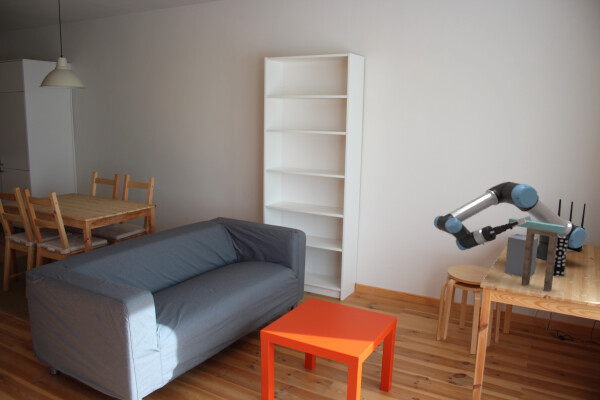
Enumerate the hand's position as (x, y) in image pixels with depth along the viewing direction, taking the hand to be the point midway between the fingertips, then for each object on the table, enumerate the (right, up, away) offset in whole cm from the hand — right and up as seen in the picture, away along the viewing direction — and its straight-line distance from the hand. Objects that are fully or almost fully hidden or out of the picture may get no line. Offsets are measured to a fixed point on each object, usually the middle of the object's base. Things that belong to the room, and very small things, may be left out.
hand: (528, 219), depth 222 cm
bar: (+3, -4, -2) cm, 5 cm away
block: (+6, -29, +22) cm, 37 cm away
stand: (+4, -32, 0) cm, 33 cm away
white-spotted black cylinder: (+25, -30, +22) cm, 44 cm away
